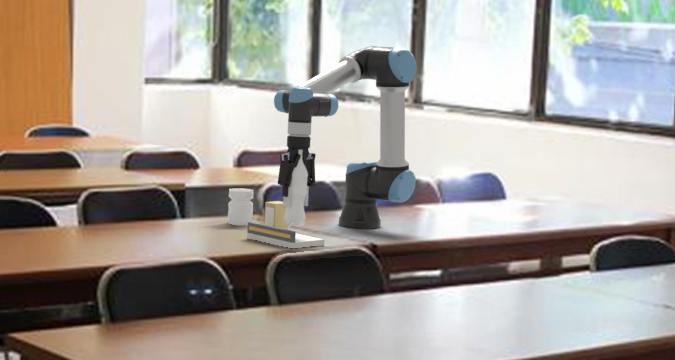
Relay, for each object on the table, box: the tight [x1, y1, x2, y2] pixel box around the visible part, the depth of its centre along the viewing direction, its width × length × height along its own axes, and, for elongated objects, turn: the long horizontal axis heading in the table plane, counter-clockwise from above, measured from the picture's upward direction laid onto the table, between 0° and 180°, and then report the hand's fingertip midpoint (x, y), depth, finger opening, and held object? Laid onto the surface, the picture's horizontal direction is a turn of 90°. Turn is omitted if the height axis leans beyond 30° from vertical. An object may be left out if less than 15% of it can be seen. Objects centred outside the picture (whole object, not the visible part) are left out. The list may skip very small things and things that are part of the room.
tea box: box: [263, 200, 289, 230], centre depth 426 cm, size 6×5×10 cm
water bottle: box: [284, 150, 308, 228], centre depth 415 cm, size 7×7×25 cm
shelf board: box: [246, 221, 325, 249], centre depth 420 cm, size 14×22×6 cm, turn 45°
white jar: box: [227, 187, 255, 227], centre depth 454 cm, size 9×9×12 cm
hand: (295, 206), depth 416 cm, fingers closed on water bottle, 7 cm apart
